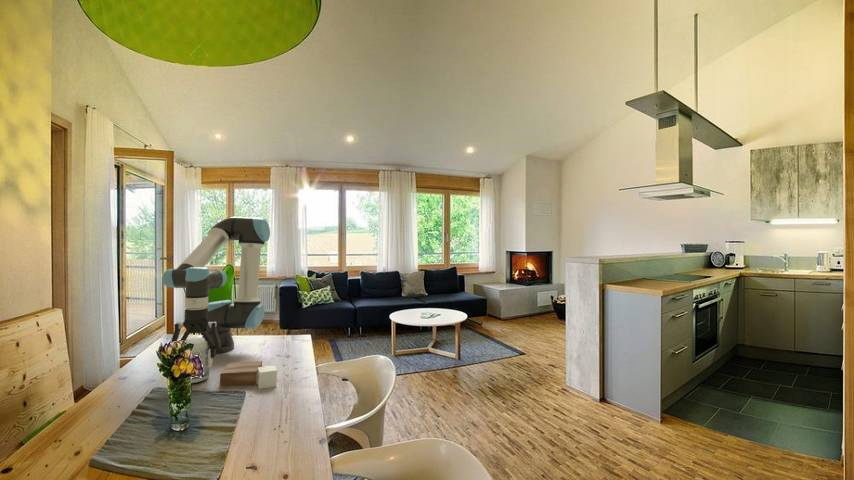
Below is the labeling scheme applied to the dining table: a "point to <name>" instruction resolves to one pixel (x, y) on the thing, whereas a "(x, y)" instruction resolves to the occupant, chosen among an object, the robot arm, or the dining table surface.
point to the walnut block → (240, 374)
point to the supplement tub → (203, 346)
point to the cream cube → (267, 376)
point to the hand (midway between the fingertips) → (194, 367)
